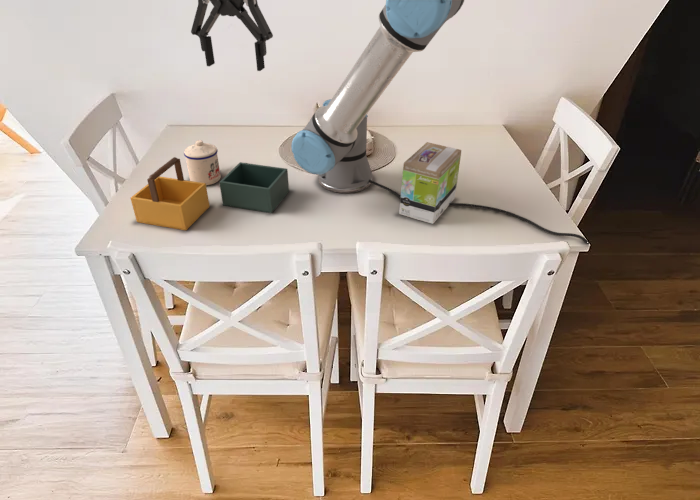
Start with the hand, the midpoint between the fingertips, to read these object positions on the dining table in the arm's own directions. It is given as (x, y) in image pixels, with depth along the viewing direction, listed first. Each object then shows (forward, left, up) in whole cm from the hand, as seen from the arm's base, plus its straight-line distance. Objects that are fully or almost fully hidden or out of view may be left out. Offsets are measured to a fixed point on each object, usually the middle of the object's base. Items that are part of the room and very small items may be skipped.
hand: (235, 67), depth 133 cm
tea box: (-50, -2, -33) cm, 60 cm away
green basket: (-5, +6, -33) cm, 34 cm away
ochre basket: (+12, +20, -33) cm, 40 cm away
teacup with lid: (+14, -1, -33) cm, 36 cm away
